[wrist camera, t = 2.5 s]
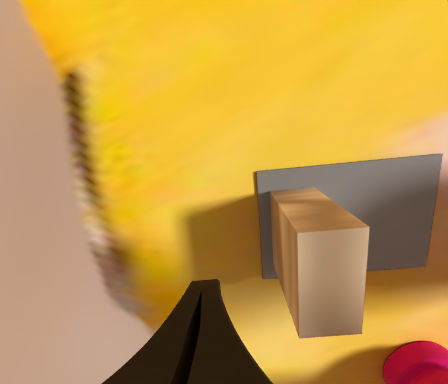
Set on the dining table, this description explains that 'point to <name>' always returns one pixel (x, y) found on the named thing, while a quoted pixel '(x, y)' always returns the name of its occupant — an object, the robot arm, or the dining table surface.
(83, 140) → the dining table surface
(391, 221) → the grey panel
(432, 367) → the pepper mill
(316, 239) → the birch block
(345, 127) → the dining table surface
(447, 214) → the dining table surface
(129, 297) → the dining table surface
